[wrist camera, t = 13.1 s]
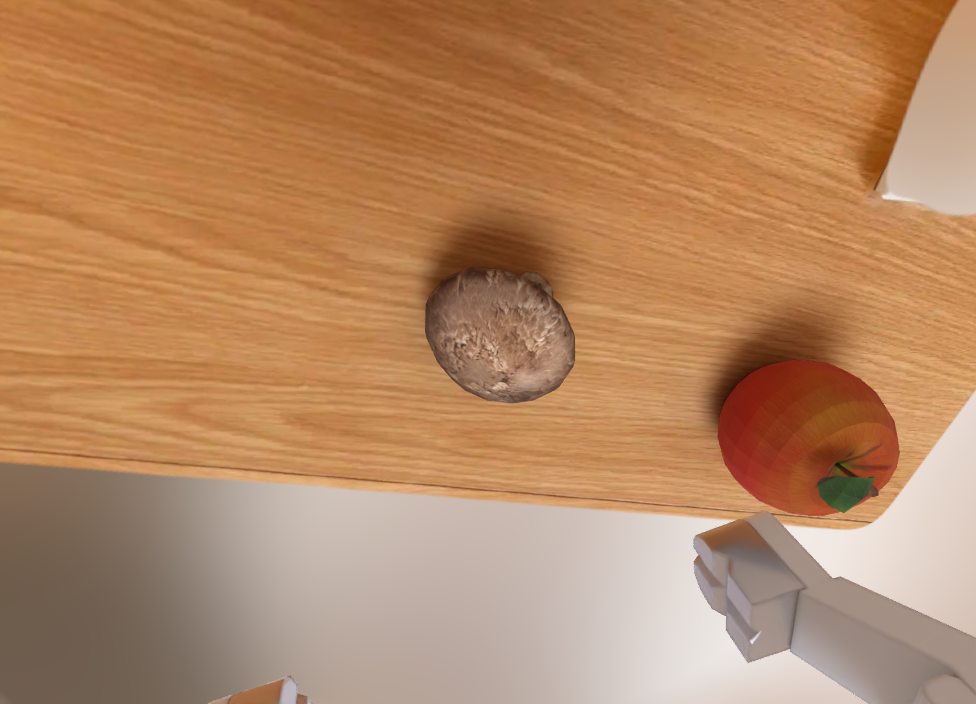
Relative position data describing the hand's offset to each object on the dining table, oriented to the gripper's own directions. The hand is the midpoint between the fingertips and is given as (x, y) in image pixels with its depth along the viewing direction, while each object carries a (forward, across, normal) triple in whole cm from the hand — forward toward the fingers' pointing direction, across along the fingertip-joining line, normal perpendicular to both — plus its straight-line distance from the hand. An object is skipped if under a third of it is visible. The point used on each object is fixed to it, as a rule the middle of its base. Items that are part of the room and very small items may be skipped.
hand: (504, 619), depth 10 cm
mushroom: (+20, -3, +4) cm, 20 cm away
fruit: (+20, -20, +16) cm, 32 cm away
